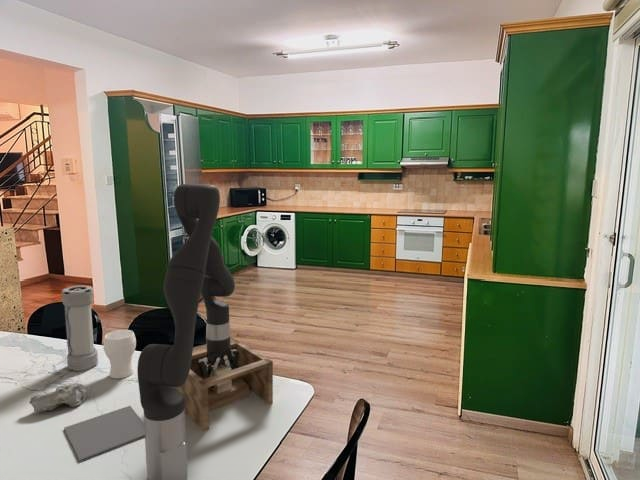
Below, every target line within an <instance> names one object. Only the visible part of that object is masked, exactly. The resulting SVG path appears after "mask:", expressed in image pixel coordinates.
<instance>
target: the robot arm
mask: <svg viewBox="0 0 640 480" xmlns="http://www.w3.org/2000/svg"><path fill="white" fill-rule="evenodd" d="M220 203H221V195H220V190H219V188H218V187H217V186H216V185H213V184H201V183H200V184H199V183H184V184H179V185H178V186H177V187H176V188H175V190H174V195H173V206H174V209H175V213H176V215H177V218H178V219H179V221H180V223H181V225H182V227H183V229H184V231H185V233H186V234H187V237H188V238H187V240H186V241H184V243H183V244H182V245H181V246H180V247H179V248H178V249H177V250H176V251H175V253H174V254H173V255H172V256H171V258H170V259H169V261H168V263H167V266H166V272H165V276H164V282H163V287H162V289H163V294H164V298H165V301H166V303H167V305H168V308H169V310H170V312H171V314H172V318H173V321H174V328H175V329H174V341H173V344H161V343H151V344H150V343H149V344H147V345H146V346H145V347H143V349H142V350H141V352H140V354H139V356H138V359H137V361H138V362H137V371H136V372H137V382H138V383H137V384H138V391H139V400H140V405H141V408H142V410H143V423H144V427H145V437H144V443H145V465H146V466H145V467H146V479H147V480H188V458H187V457H188V456H187V455H188V454H187V453H188V451H187V428H186V425H187V424H186V412H185V399H184V396H183V394H182V393H181V392H179V391H177V390H175V389H174V388H172V387H180V386H182V385H183V384H184V383H185V381H186V380H187V377H188V375H189V371H190V366H191V360H192V352H193V347H194V342H195V341H194V339H195V330H196V322H197V316H198V309H199V304H200V301H201V300H200V299H201V296H202V298H203V302H204V307H205V310H206V328H205V329H206V330H205V332H206V333H205V341H206V343H205V344H206V346H207V355H206V357H205V358H203V359H198V365H199V368H200V372H201V375H202V376H204V377H205V378H209V377H212V376H214V371H216V369H217V367H218V366H220V365H225V366H226V367H228V366H229V367H230V368H231V370H232V369H235V368H236V366H237V361H238V355H239V351H237V350H236V349H233V350H231V349H230V347H231V343H230V337H231V323H230V306H229V304H228V303H227V302H224V301H222V300H218V299H217V297H222V298H223V297H226V298H227V297H230V296H232V295H233V293H234V292H235V287H236V285H235V284H236V283H235V279H234V276H233V275H232V273H231V272H230V270H229V268H228V267H227V265H226V263H225V262H224V259H223V258H224V257H223V254H222V250H221V247H220V245H219V243H218V242H217V240H216V239H215V238H214V237H213V232H214V229H215V226H216V222H217V218H218V214H219V210H220ZM230 355H231V359H230V363H229V361H228V358H229V357H230ZM207 361H208V362H209V364H208V370H207V369H206V366H205V365H207V363H206V362H207ZM212 365H213V366H212ZM210 388H214V386H211V387H210Z"/></svg>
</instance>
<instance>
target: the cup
mask: <svg viewBox="0 0 640 480" xmlns="http://www.w3.org/2000/svg"><path fill="white" fill-rule="evenodd" d="M136 347H137V339H136V335H135V333H134V331H133V330H130V329H118V330H113V331H110V332H108V333H106V334H105V335H104V339H103V351H104V353H105V355H106V357H107V358H108V361H109V363H110V370H109V377H110V378H112V379H118V380H119V379H124V378H127V377H129V376H131V375H132V374H133V373H134V369H133V363H132V359H133V355H134V353H135V350H136Z"/></svg>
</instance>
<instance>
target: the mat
mask: <svg viewBox="0 0 640 480" xmlns="http://www.w3.org/2000/svg"><path fill="white" fill-rule="evenodd" d="M63 430H64V432H65V434H66V436H67V438H68V440H69V442H70V445H71V446H72V448H73V451H74V453H75V455H76V457H77V459H78V461H79V463H80V462H83V461H86V460H88V459H91V458H93V457H96V456H99V455H102V454H104V453H107V452H109V451H112V450H115V449H117V448H120V447H122V446H125V445H127V444H129V443H132V442H135V441H137V440H140V439H143V438H145V427H144V420H142V419H141V417H140V416H139V414H137V412H136V411H135V410H134V408H133V407H132V406H131V405H128V406H127V405H126V406H124V407H120V408H119V409H115V410H112V411H109V412H107V413H104V414H101V415H97V416H95V417H92V418H91V417H90V418H89V419H85V420H83V421H79V422H77V423H74V424H71V425H67V426H65V427H64V428H63Z"/></svg>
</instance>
